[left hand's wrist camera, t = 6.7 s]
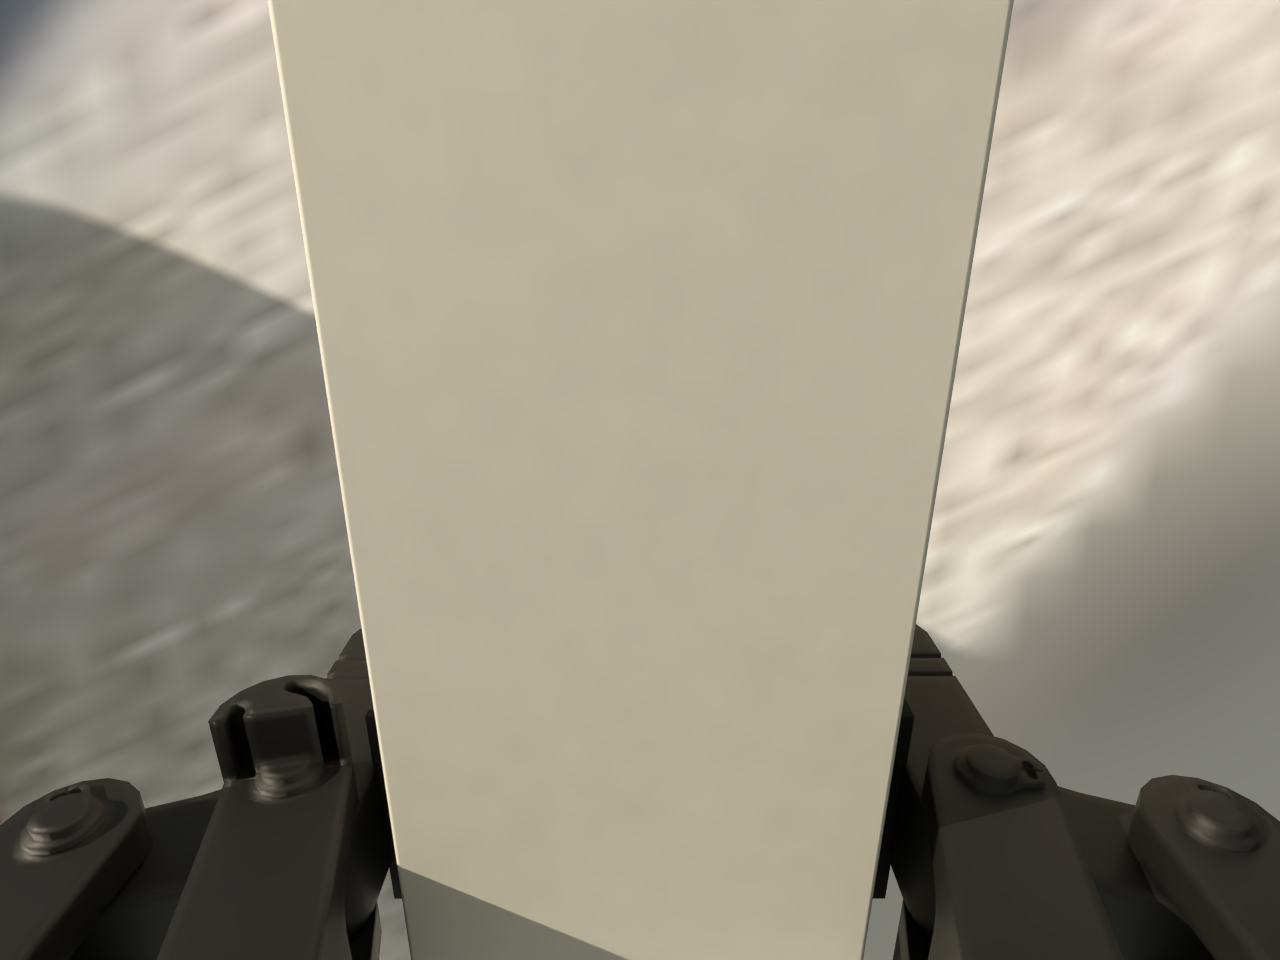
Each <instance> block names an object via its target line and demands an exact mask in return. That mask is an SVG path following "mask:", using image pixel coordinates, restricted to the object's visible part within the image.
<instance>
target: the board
mask: <svg viewBox="0 0 1280 960" xmlns="http://www.w3.org/2000/svg"><path fill="white" fill-rule="evenodd" d="M1013 2H1014V0H268V5H269V12H270V18H271V25H272V32H273V38H274V45H275V52H276V59H277V65H278V72H279V79H280V85H281V92H282V99H283V105H284V112H285V119H286V125H287V132H288V139H289V145H290V152H291V159H292V165H293V172H294V179H295V186H296V192H297V199H298V206H299V212H300V219H301V226H302V232H303V239H304V246H305V252H306V259H307V266H308V272H309V279H310V286H311V292H312V299H313V306H314V313H315V319H316V326H317V333H318V339H319V346H320V353H321V359H322V366H323V373H324V379H325V386H326V393H327V399H328V406H329V413H330V419H331V426H332V433H333V439H334V446H335V453H336V460H337V466H338V473H339V480H340V486H341V493H342V500H343V506H344V513H345V520H346V526H347V533H348V540H349V546H350V553H351V560H352V566H353V573H354V580H355V587H356V593H357V600H358V607H359V613H360V620H361V627H362V633H363V640H364V647H365V653H366V660H367V667H368V673H369V680H370V687H371V693H372V700H373V707H374V713H375V720H376V727H377V734H378V740H379V747H380V754H381V760H382V767H383V774H384V780H385V787H386V794H387V800H388V807H389V814H390V820H391V827H392V834H393V840H394V847H395V854H396V861H397V867H398V874H399V881H400V887H401V894H402V901H403V907H404V914H405V921H406V927H407V934H408V941H409V947H410V954H411V960H863V956H864V949H865V943H866V937H867V930H868V924H869V918H870V911H871V905H872V899H873V892H874V886H875V880H876V873H877V867H878V861H879V854H880V848H881V841H882V835H883V829H884V822H885V816H886V810H887V803H888V797H889V791H890V784H891V778H892V771H893V765H894V759H895V752H896V746H897V740H898V733H899V727H900V721H901V714H902V708H903V701H904V695H905V689H906V682H907V676H908V670H909V663H910V657H911V651H912V644H913V638H914V631H915V625H916V619H917V612H918V606H919V600H920V593H921V587H922V581H923V574H924V568H925V561H926V555H927V549H928V542H929V536H930V530H931V523H932V517H933V511H934V504H935V498H936V491H937V485H938V479H939V472H940V466H941V460H942V453H943V447H944V441H945V434H946V428H947V421H948V415H949V409H950V402H951V396H952V390H953V383H954V377H955V371H956V364H957V358H958V351H959V345H960V339H961V332H962V326H963V320H964V313H965V307H966V301H967V294H968V288H969V282H970V275H971V269H972V262H973V256H974V250H975V243H976V237H977V231H978V224H979V218H980V212H981V205H982V199H983V192H984V186H985V180H986V173H987V167H988V161H989V154H990V148H991V142H992V135H993V129H994V122H995V116H996V110H997V103H998V97H999V91H1000V84H1001V78H1002V72H1003V65H1004V59H1005V52H1006V46H1007V40H1008V33H1009V27H1010V21H1011V14H1012V8H1013Z"/></svg>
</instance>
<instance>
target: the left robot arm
mask: <svg viewBox="0 0 1280 960" xmlns="http://www.w3.org/2000/svg"><path fill="white" fill-rule="evenodd" d="M208 722H209V726H210V730H211V733H212V737H213V741H214V745H215V749H216V753H217V757H218V761H219V765H220V768H221V772H222V776H223V780H224V785H223V788H222V789H221V790H218V791H215V792H212V793H208V794H205V795H202V796H198V797H193V798H189V799H185V800H180V801H176V802H172V803H167V804H163V805H159V806H154V807H150V808H146V809H145V808H144V805H143V802H142V798H141V795H140V792H139V791H138V790H137V789H136V788H135V787H134V786H132V785H131V784H130V783H129V782H126V781H121V780H115V779H110V778H106V779H98V780H90V781H82V782H79V783H76V784H73V785H70V786H67V787H64V788H61V789H58V790H55V791H53V792H51V793H49V794H47V795H45V796H43V797H41V798H39V799H37V800H36V801H34V802H32V803H30V804H28V805H26V806H24V807H23V808H22V809H21V810H19V811H18V812H17V813H16V814H14V815H13V816H12V817H10V818H9V819H8V820H7V821H5V822H4V823H3V824H2V825H0V960H379V953H380V943H381V932H382V930H381V923H380V916H379V910H378V904H377V899H378V896H379V893H380V891H381V888H382V885H383V882H384V880H385V877H386V874H387V872H388V869H389V867H390V873H391V880H392V886H393V892H394V898H402V894H401V887H400V881H399V874H398V867H397V861H396V854H395V847H394V840H393V834H392V827H391V820H390V814H389V807H388V800H387V794H386V787H385V780H384V774H383V767H382V760H381V754H380V747H379V740H378V734H377V727H376V720H375V713H374V707H373V700H372V693H371V687H370V680H369V673H368V667H367V660H366V653H365V647H364V640H363V633H362V628H361V629H360V630H359V631H357V632H356V633H355V634H353V635H352V637H351V638H350V640H349V642H348V643H347V645H346V646H345V648H344V649H343V651H342V652H341V654H340V656H339V661H336V662H335V663H334V665H333V667H332V668H331V670H330V671H329V673H328V677H327V679H324V678H320V677H316V676H313V675H293V676H285V677H280V678H276V679H271V680H267V681H263V682H261V683H259V684H256V685H254V686H252V687H249V688H247V689H245V690H243V691H240V692H239V693H237V694H236V695H235V696H233V697H232V698H230V699H229V700H228V701H226V702H225V703H223V704H222V705H221V706H220V707H219V708H218V709H217V711H216V712H215V713H214V715H213V716H212V717H211V719H210V720H209V721H208ZM890 864H891V866H892V869H893V872H894V875H895V877H896V880H897V883H898V885H899V888H900V891H901V893H902V896H903V904H902V910H901V916H900V921H899V927H898V933H897V939H896V944H895V950H894V956H893V960H1280V821H1278V820H1277V819H1276V818H1274V817H1273V816H1272V815H1271V814H1269V813H1268V812H1267V811H1266V810H1264V809H1263V808H1262V807H1260V806H1259V805H1258V804H1257V803H1255V802H1253V801H1251V800H1249V799H1248V798H1246V797H1244V796H1242V795H1240V794H1238V793H1236V792H1234V791H1232V790H1230V789H1229V788H1226V787H1223V786H1220V785H1217V784H1214V783H1211V782H1208V781H1205V780H1202V779H1199V778H1193V777H1184V776H1176V775H1170V776H1164V777H1158V778H1153V779H1151V780H1150V781H1149V782H1148V783H1147V784H1145V785H1144V786H1143V787H1142V788H1141V790H1140V793H1139V796H1138V800H1137V803H1136V806H1135V805H1130V804H1126V803H1122V802H1117V801H1113V800H1109V799H1104V798H1100V797H1096V796H1091V795H1087V794H1083V793H1079V792H1075V791H1072V790H1068V789H1065V788H1062V787H1059V786H1057V784H1056V782H1055V780H1054V779H1053V777H1052V776H1051V774H1050V773H1049V771H1048V770H1047V768H1046V766H1045V765H1044V764H1042V763H1041V762H1040V761H1039V760H1038V759H1036V758H1035V757H1034V756H1033V755H1031V754H1030V753H1029V752H1028V751H1026V750H1025V749H1022V748H1020V747H1018V746H1016V745H1014V744H1012V743H1010V742H1008V741H1006V740H1004V739H1001V738H997V737H994V736H993V734H992V732H991V731H990V729H989V728H988V726H987V725H986V723H985V722H984V720H983V718H982V717H981V715H980V714H979V712H978V711H977V709H976V708H975V706H974V705H973V703H972V701H971V700H970V698H969V697H968V695H967V694H966V692H965V690H964V689H963V687H962V686H961V684H960V683H959V681H958V680H957V678H956V676H953V675H952V670H951V669H950V667H949V666H948V664H947V662H946V661H945V659H944V658H941V653H940V652H939V650H938V648H937V647H936V645H935V644H934V642H933V641H932V639H931V638H930V636H929V634H928V633H927V632H926V631H925V630H923V629H922V628H921V627H919V626H918V625H915V631H914V638H913V644H912V651H911V657H910V663H909V670H908V676H907V682H906V689H905V695H904V701H903V708H902V714H901V721H900V727H899V733H898V740H897V746H896V752H895V759H894V765H893V771H892V778H891V784H890V791H889V797H888V803H887V810H886V816H885V822H884V829H883V835H882V841H881V848H880V854H879V861H878V867H877V873H876V880H875V886H874V892H873V898H885V895H886V889H887V883H888V876H889V870H890Z"/></svg>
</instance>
